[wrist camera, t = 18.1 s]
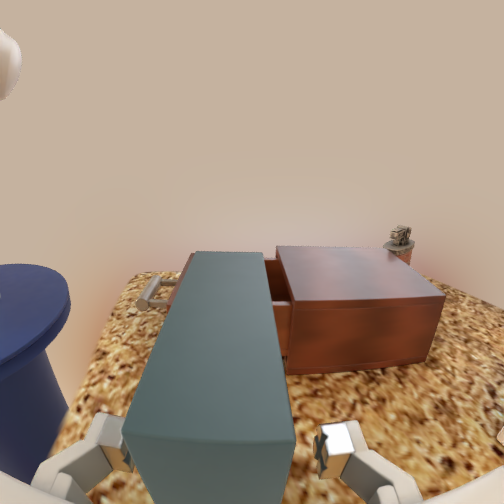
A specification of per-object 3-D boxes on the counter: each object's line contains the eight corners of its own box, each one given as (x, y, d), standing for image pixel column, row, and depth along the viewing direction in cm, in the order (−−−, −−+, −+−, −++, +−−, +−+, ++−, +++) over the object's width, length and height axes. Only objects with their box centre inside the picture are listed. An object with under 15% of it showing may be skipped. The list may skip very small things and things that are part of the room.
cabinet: (286, 375, 26) (294, 300, 24) (273, 301, 40) (276, 245, 38) (425, 361, 27) (446, 295, 24) (376, 300, 40) (385, 247, 38)
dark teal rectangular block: (208, 583, 8) (118, 431, 3) (213, 476, 16) (195, 250, 11) (255, 584, 8) (297, 441, 3) (251, 477, 16) (262, 252, 11)
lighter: (392, 281, 47) (401, 221, 44) (410, 287, 44) (421, 225, 41) (369, 295, 42) (380, 227, 39) (390, 303, 39) (402, 232, 36)
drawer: (129, 357, 26) (118, 302, 24) (161, 295, 39) (157, 252, 37) (322, 362, 26) (332, 306, 25) (299, 297, 39) (303, 254, 37)
